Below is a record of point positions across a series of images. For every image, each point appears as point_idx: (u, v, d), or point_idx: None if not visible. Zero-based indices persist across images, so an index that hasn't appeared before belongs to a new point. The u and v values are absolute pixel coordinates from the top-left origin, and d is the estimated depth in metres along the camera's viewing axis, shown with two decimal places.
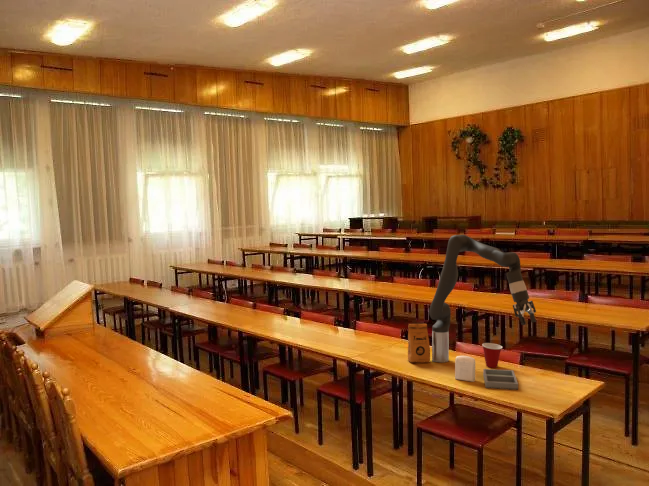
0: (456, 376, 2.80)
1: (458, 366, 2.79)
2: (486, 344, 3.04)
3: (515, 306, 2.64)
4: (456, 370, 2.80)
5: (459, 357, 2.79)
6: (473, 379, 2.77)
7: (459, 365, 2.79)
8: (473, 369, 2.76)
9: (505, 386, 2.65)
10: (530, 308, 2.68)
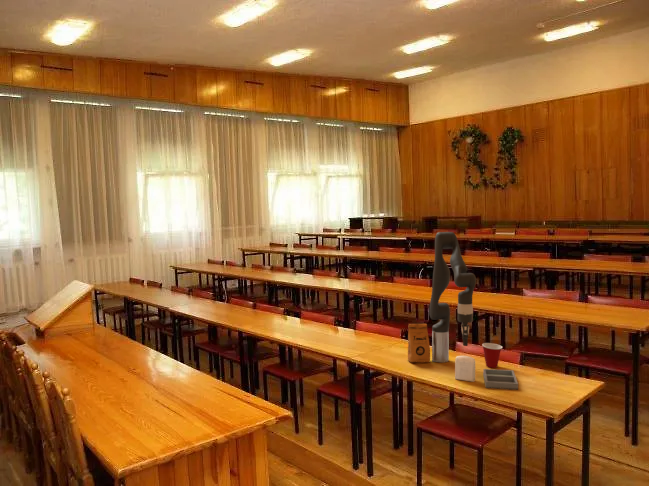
0: (456, 376, 2.80)
1: (458, 366, 2.79)
2: (486, 344, 3.04)
3: (466, 328, 2.71)
4: (456, 370, 2.80)
5: (459, 357, 2.79)
6: (473, 379, 2.77)
7: (459, 365, 2.79)
8: (473, 369, 2.76)
9: (505, 386, 2.65)
10: None
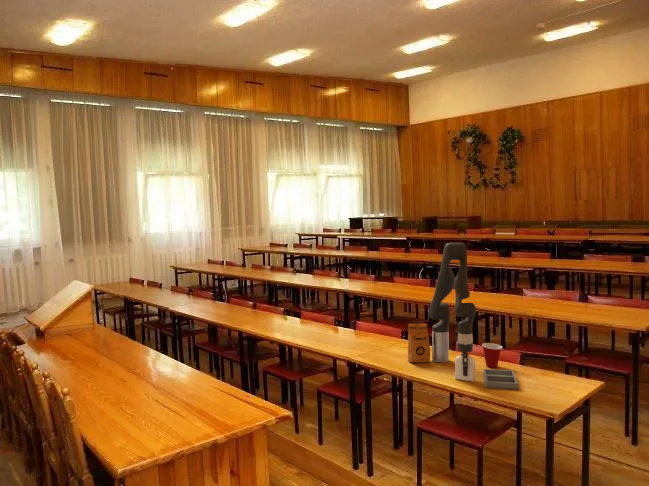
0: (456, 376, 2.80)
1: (458, 366, 2.79)
2: (486, 344, 3.04)
3: (465, 360, 2.73)
4: (456, 370, 2.80)
5: (459, 357, 2.79)
6: (473, 379, 2.77)
7: (459, 365, 2.79)
8: (473, 369, 2.76)
9: (505, 386, 2.65)
10: None
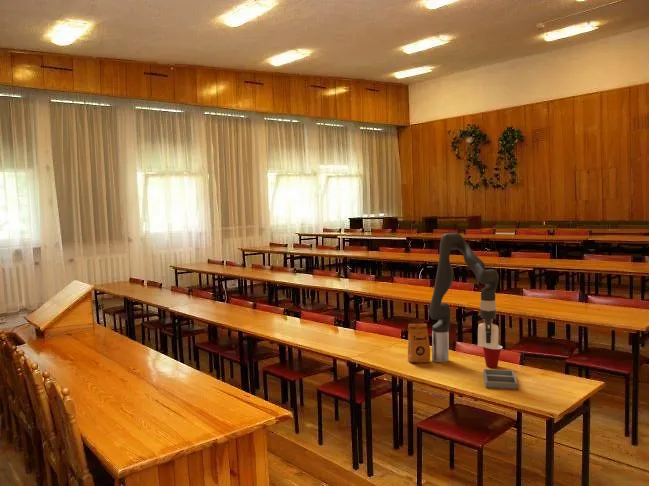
0: (479, 343, 2.79)
1: (481, 334, 2.78)
2: None
3: (489, 327, 2.71)
4: (479, 337, 2.79)
5: (482, 324, 2.78)
6: (496, 346, 2.75)
7: (482, 332, 2.78)
8: (496, 336, 2.75)
9: (505, 386, 2.65)
10: None
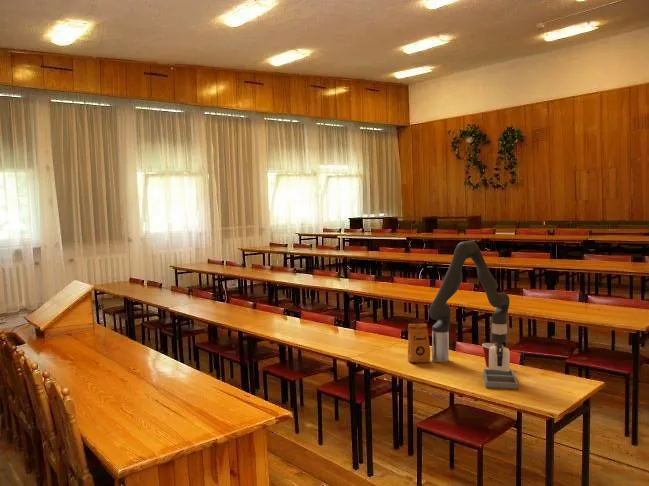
0: (490, 366, 2.80)
1: (492, 356, 2.79)
2: (486, 344, 3.04)
3: (500, 350, 2.73)
4: (490, 360, 2.80)
5: (493, 347, 2.80)
6: (507, 369, 2.77)
7: (493, 355, 2.79)
8: (507, 359, 2.76)
9: (505, 386, 2.65)
10: None
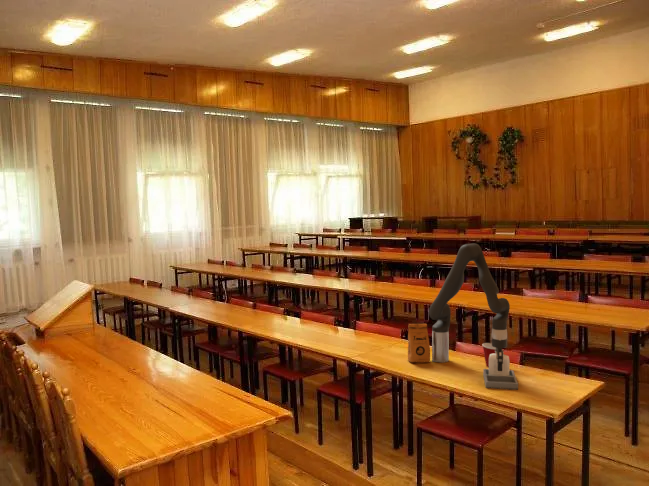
0: (490, 374, 2.81)
1: (492, 364, 2.80)
2: (486, 344, 3.04)
3: (500, 354, 2.73)
4: (490, 368, 2.80)
5: (493, 355, 2.80)
6: None
7: (493, 363, 2.79)
8: (507, 366, 2.77)
9: (505, 386, 2.65)
10: None
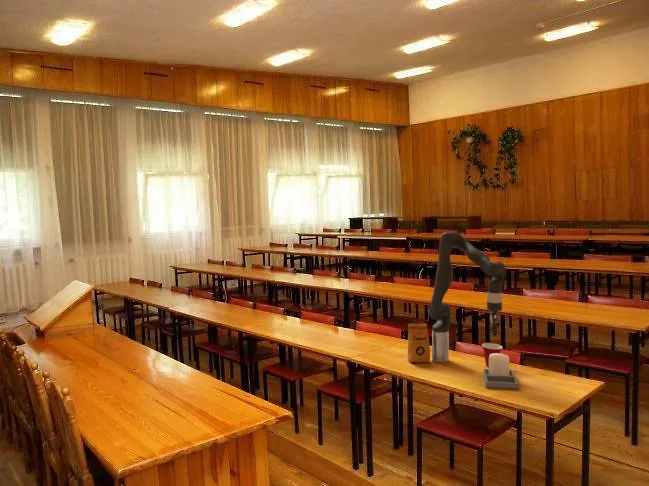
0: (490, 374, 2.81)
1: (492, 364, 2.80)
2: (486, 344, 3.04)
3: (495, 316, 2.76)
4: (490, 368, 2.80)
5: (493, 355, 2.80)
6: None
7: (493, 363, 2.79)
8: (507, 366, 2.77)
9: (505, 386, 2.65)
10: None
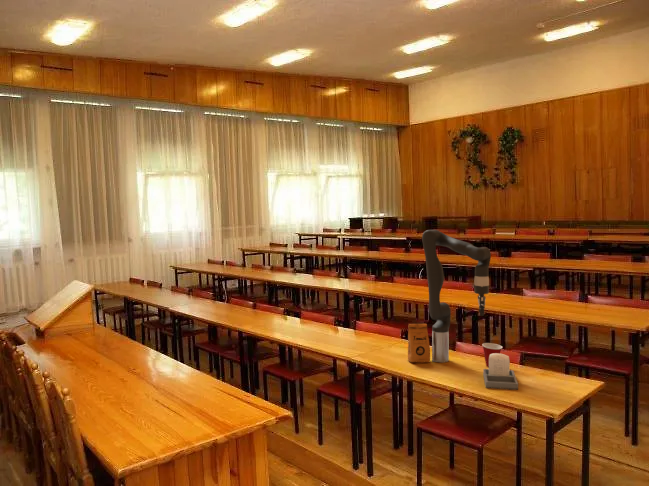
0: (490, 374, 2.81)
1: (492, 364, 2.80)
2: (486, 344, 3.04)
3: (482, 299, 2.88)
4: (490, 368, 2.80)
5: (493, 355, 2.80)
6: None
7: (493, 363, 2.79)
8: (507, 366, 2.77)
9: (505, 386, 2.65)
10: None
